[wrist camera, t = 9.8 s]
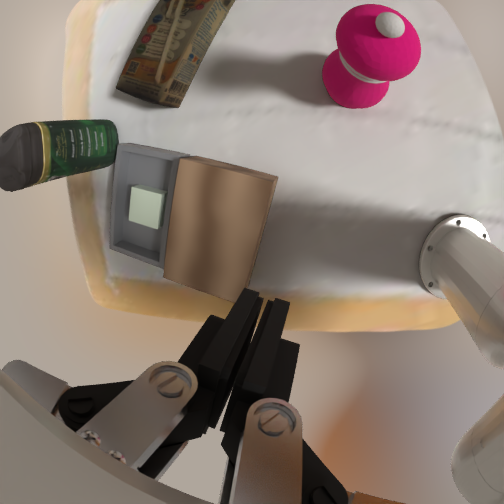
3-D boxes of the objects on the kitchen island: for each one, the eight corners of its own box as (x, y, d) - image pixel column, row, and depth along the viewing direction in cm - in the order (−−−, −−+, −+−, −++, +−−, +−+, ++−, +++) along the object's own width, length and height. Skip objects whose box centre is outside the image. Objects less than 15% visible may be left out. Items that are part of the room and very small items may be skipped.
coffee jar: (120, 114, 35) (18, 116, 18) (123, 164, 37) (23, 190, 21) (77, 127, 37) (-14, 138, 20) (81, 172, 39) (-9, 199, 23)
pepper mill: (331, 117, 30) (356, 82, 12) (313, 64, 28) (310, -21, 9) (386, 107, 28) (466, 74, 10) (368, 54, 26) (419, -25, 7)
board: (278, 176, 34) (272, 182, 29) (248, 286, 40) (239, 304, 36) (196, 156, 35) (180, 158, 30) (178, 262, 41) (163, 277, 37)
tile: (131, 186, 36) (139, 184, 37) (128, 220, 38) (136, 216, 39) (161, 194, 35) (168, 191, 37) (157, 229, 37) (164, 225, 39)
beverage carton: (243, -4, 25) (230, -27, 19) (182, 111, 33) (157, 107, 27) (194, -13, 25) (175, -32, 19) (138, 95, 33) (110, 91, 27)
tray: (189, 154, 35) (179, 155, 32) (172, 260, 42) (163, 268, 39) (130, 143, 36) (117, 144, 33) (120, 241, 42) (109, 248, 40)
